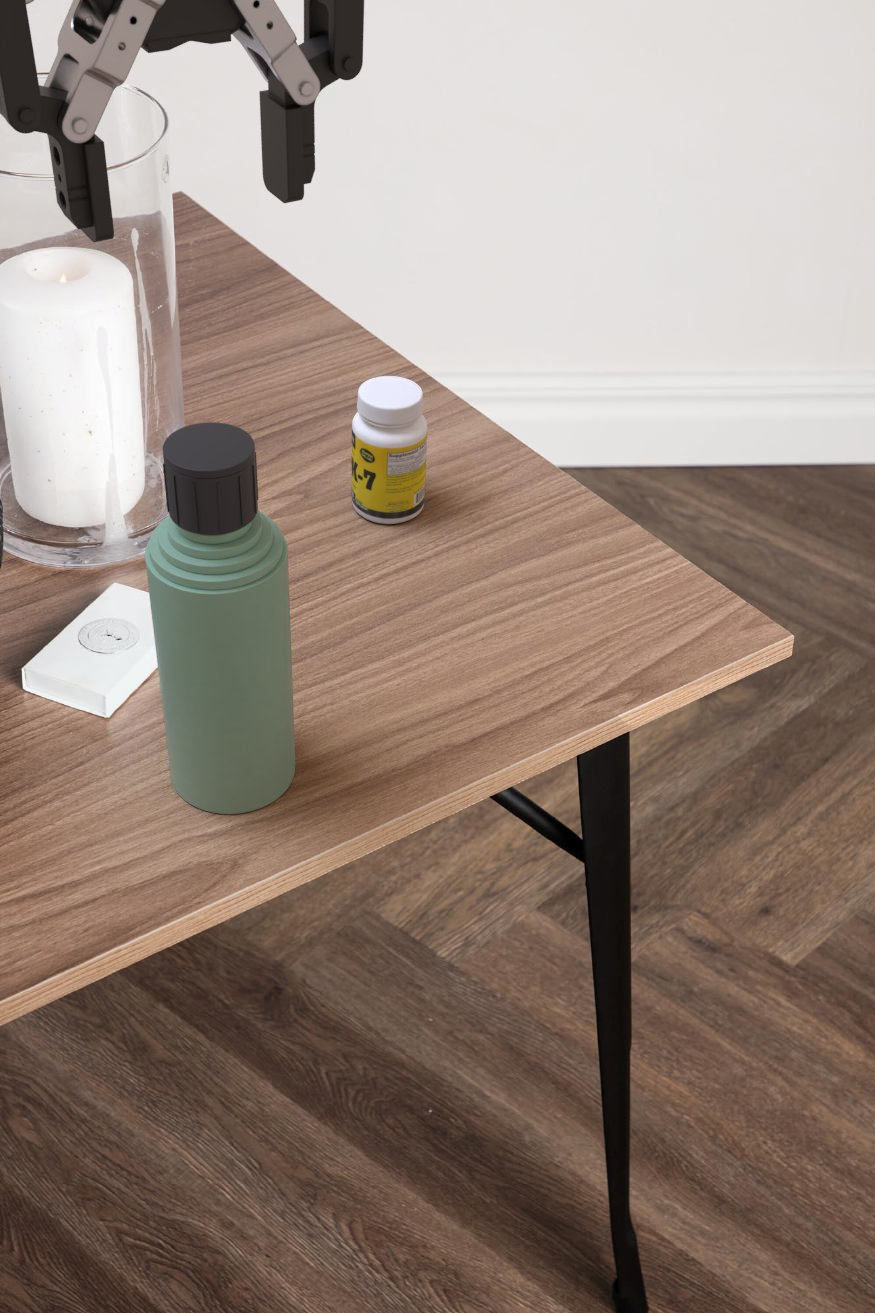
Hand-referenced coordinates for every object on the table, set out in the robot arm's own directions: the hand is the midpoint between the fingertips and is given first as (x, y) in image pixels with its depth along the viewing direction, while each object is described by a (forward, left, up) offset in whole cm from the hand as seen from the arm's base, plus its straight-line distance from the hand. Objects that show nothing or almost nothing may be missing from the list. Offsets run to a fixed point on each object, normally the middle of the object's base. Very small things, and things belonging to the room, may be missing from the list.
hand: (191, 213), depth 54 cm
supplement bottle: (+19, +17, -30) cm, 39 cm away
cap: (0, 0, -14) cm, 14 cm away
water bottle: (0, 0, -30) cm, 30 cm away
